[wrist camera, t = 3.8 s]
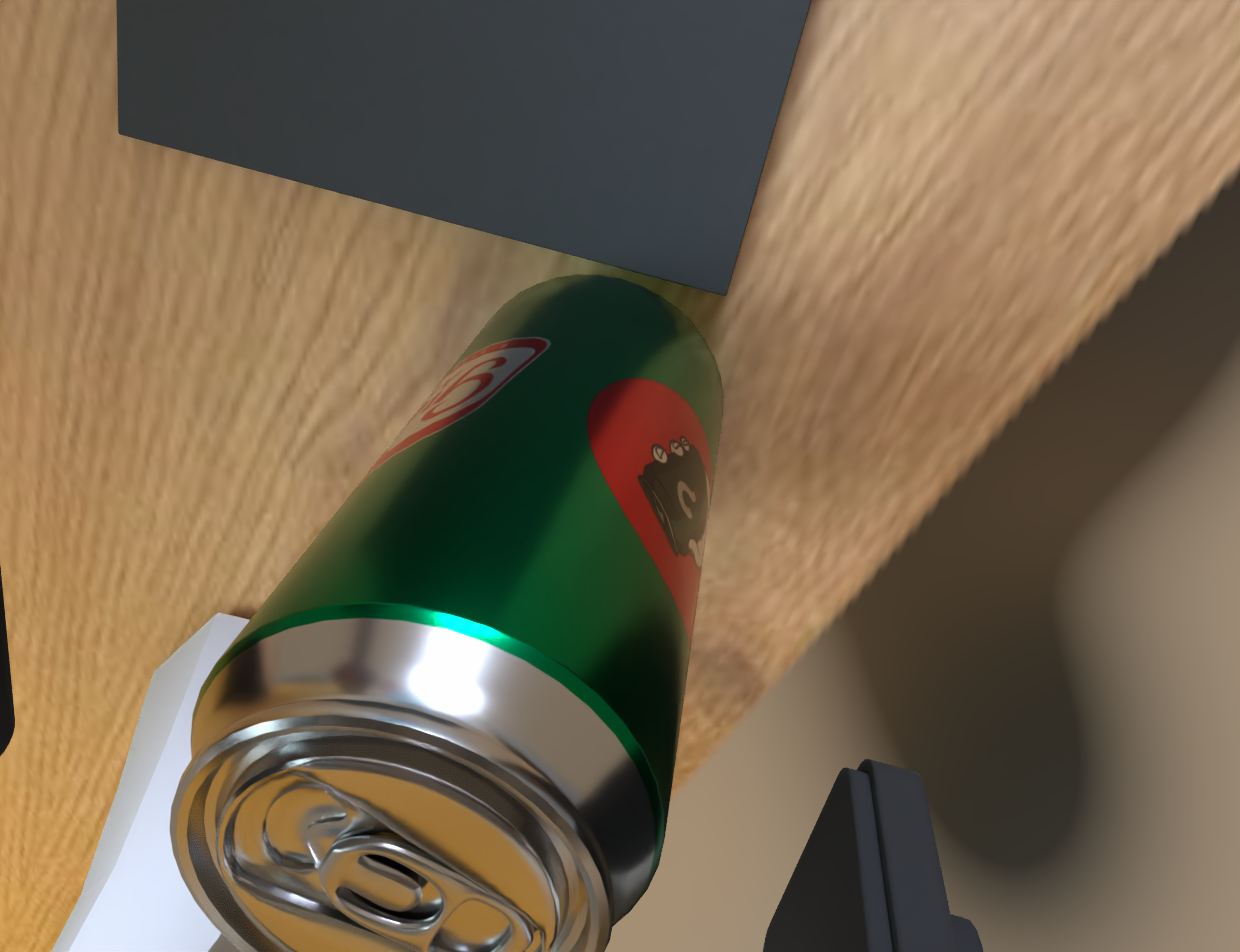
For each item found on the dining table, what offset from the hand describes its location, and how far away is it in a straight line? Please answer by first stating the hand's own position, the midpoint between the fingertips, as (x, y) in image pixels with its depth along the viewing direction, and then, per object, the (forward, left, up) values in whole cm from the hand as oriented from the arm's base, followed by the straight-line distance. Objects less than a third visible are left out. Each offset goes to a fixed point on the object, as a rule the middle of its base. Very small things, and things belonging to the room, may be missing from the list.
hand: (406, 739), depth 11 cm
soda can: (0, 0, -11) cm, 11 cm away
